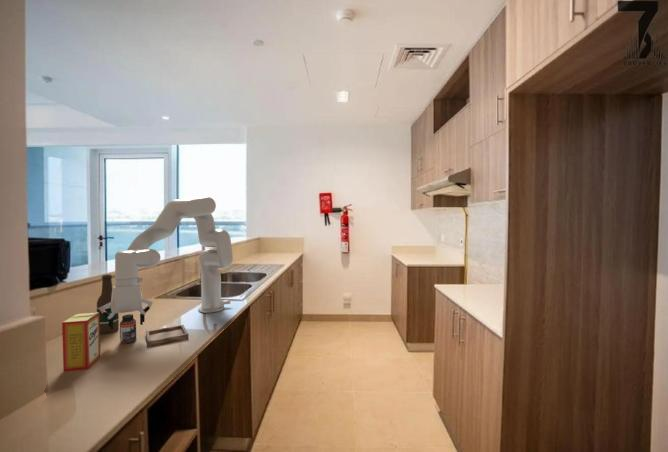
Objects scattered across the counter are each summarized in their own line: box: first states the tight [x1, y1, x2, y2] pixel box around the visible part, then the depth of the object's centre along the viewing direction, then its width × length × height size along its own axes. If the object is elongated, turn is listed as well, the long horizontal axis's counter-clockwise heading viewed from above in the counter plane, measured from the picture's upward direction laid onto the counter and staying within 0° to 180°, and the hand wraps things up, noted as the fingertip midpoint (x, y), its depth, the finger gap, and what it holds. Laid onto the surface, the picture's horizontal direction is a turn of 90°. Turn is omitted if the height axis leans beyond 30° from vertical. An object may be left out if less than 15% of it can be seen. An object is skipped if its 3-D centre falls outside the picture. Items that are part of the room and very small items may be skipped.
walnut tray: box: [145, 324, 189, 348], centre depth 129 cm, size 14×13×2 cm
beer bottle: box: [96, 274, 120, 335], centre depth 136 cm, size 8×8×24 cm
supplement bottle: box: [119, 313, 137, 344], centre depth 125 cm, size 5×5×10 cm
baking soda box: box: [61, 311, 101, 372], centre depth 106 cm, size 10×6×16 cm
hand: (127, 326), depth 125 cm, fingers open, 9 cm apart
